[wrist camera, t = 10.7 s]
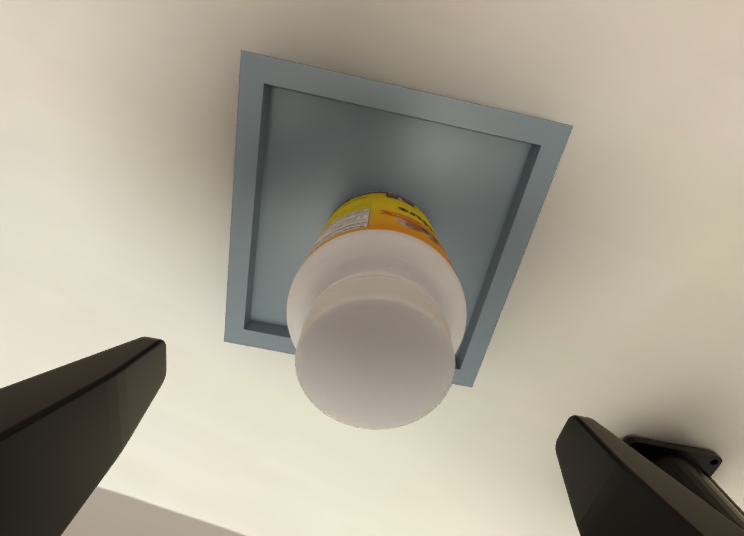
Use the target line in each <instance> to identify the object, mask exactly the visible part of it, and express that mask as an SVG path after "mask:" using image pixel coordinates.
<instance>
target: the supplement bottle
mask: <svg viewBox="0 0 744 536" xmlns="http://www.w3.org/2000/svg"><path fill="white" fill-rule="evenodd" d="M466 319H467V310H466V301H465V297H464V293H463V290H462V287H461V283H460V281H459V279H458V276H457V274H456V272H455V270H454V268H453V266H452V264H451V262H450V261H449V259H448V256H447V254H446V252H445V250H444V249H443V247H442V245H441V243H440V241H439V239H438V237H437V235H436V234H435V232H434V230H433V228H432V226H431V224H430V222H429V220H428V219H427V217H426V216H425V214H424V213H423V212H422V211H421V209H420V208H419V207H418V206H417V205H415V204H414V203H413V202H411V201H410V200H408V199H406V198H405V197H403V196H400V195H398V194H395V193H391V192H385V191H373V192H366V193H362V194H359V195H356V196H354V197H352V198H350V199H349V200H347V201H346V202H344V203H343V204H341V205H340V206H339V207H338V208H337V209H336V210H335V212H334V213H333V214H332V215H331V217H330V218H329V220H328V222H327V223H326V225H325V227H324V228H323V230H322V232H321V233H320V235H319V237H318V238H317V240H316V242H315V243H314V245H313V247H312V248H311V250H310V252H309V253H308V255H307V257H306V258H305V260H304V262H303V264H302V265H301V267H300V268H299V270H298V272H297V274H296V276H295V278H294V280H293V283H292V285H291V288H290V291H289V295H288V299H287V325H288V330H289V333H290V337H291V339H292V342H293V344H294V346H295V348H296V354H295V366H296V373H297V377H298V380H299V383H300V385H301V387H302V389H303V391H304V392H305V394H306V395H307V397H308V398H309V399H310V401H311V402H312V403H313V404H314V405H315V406H316V407H317V408H318V409H319V410H321V411H322V412H323V413H324V414H326V415H328V416H329V417H331V418H333V419H335V420H337V421H339V422H341V423H344V424H347V425H350V426H354V427H357V428H364V429H390V428H395V427H399V426H403V425H406V424H409V423H412V422H414V421H417V420H418V419H420V418H422V417H424V416H425V415H427V414H428V413H429V412H431V411H432V410H433V409H434V408H435V407H436V406H437V405H438V404H439V403H440V402H441V401H442V400H443V399H444V397H445V395H446V394H447V392H448V390H449V388H450V386H451V384H452V381H453V377H454V372H455V353H456V352H457V350H458V348H459V346H460V344H461V341H462V339H463V335H464V332H465V327H466Z"/></svg>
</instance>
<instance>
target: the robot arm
mask: <svg viewBox="0 0 744 536" xmlns="http://www.w3.org/2000/svg"><path fill="white" fill-rule="evenodd" d="M165 376H166V344H165V342H164V341H163V340H161V339H156V338H151V337H141V338H138V339H135V340H132V341H130V342H127V343H124V344H121V345H119V346H116V347H113V348H111V349H108V350H105V351H102V352H100V353H97V354H94V355H91V356H89V357H86V358H83V359H80V360H78V361H75V362H72V363H69V364H67V365H64V366H61V367H58V368H56V369H53V370H50V371H47V372H45V373H42V374H39V375H36V376H34V377H31V378H28V379H26V380H23V381H20V382H17V383H15V384H12V385H9V386H6V387H4V388H1V389H0V536H61V535H62V533H63V532H64V530H65V529H66V528H67V526H68V525H69V524H70V522H71V521H72V519H73V518H74V516H75V515H76V514H77V513H78V511H79V510H80V509H81V507H82V506H83V504H84V503H85V502H86V500H87V499H88V498H89V496H90V495H91V494H92V492H93V491H94V489H95V488H96V487H97V485H98V484H99V483H100V481H101V480H102V478H103V477H104V476H105V474H106V473H107V472H108V470H109V469H110V468H111V466H112V465H113V463H114V462H115V461H116V459H117V458H118V456H119V455H120V453H121V452H122V451H123V449H124V447H125V446H126V444H127V443H128V441H129V439H130V438H131V436H132V434H133V433H134V431H135V429H136V428H137V426H138V424H139V422H140V421H141V419H142V417H143V416H144V414H145V412H146V411H147V409H148V407H149V406H150V404H151V402H152V400H153V399H154V397H155V395H156V394H157V392H158V390H159V389H160V387H161V385H162V383H163V381H164V379H165ZM556 454H557V458H558V461H559V465H560V469H561V472H562V476H563V479H564V483H565V486H566V490H567V493H568V497H569V500H570V504H571V507H572V511H573V514H574V517H575V521H576V524H577V527H578V530H579V533H580V535H581V536H744V512H743V511H742V510H741V509H740V508H739V507H738V506H737V505H736V503H735V502H734V501H733V500H732V499H731V498H730V497H729V496H728V495H727V494H726V493H725V492H724V491H723V490H722V489H721V488H720V486H719V485H718V484H717V483H716V482H715V481H714V480H713V479H712V478H711V476H712V474H713V473H714V472H715V471H716V469H717V468H718V467H719V465H720V464H721V463H722V459H721V457H720V456H718V455H717V454H716V453H715V452H713V451H707V450H702V449H696V448H691V447H685V446H680V445H674V444H669V443H663V442H658V441H652V440H647V439H641V438H636V437H630V438H627V439H626V440H625V441H624V442H623V441H622V440H621V439H619V438H618V437H617V436H615V435H614V434H612V433H611V432H610V431H608V430H607V429H606V428H604V427H603V426H602V425H600V424H599V423H598V422H596V421H595V420H593V419H591V418H588V417H583V416H578V415H573V416H571V417H569V419H568V420H567V422H566V424H565V426H564V428H563V429H562V431H561V433H560V435H559V437H558V439H557V441H556Z"/></svg>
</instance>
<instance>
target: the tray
mask: <svg viewBox="0 0 744 536" xmlns="http://www.w3.org/2000/svg"><path fill="white" fill-rule="evenodd" d="M572 127H573V126H572V125H567V124H563V123H559V122H554V121H550V120H545V119H541V118H537V117H532V116H528V115H523V114H519V113H515V112H510V111H506V110H501V109H497V108H493V107H488V106H484V105H479V104H475V103H471V102H466V101H462V100H458V99H453V98H449V97H444V96H440V95H436V94H431V93H427V92H422V91H418V90H414V89H409V88H405V87H400V86H396V85H392V84H387V83H383V82H378V81H374V80H370V79H365V78H361V77H357V76H352V75H348V74H343V73H339V72H335V71H330V70H326V69H321V68H317V67H313V66H308V65H304V64H299V63H295V62H291V61H286V60H282V59H277V58H273V57H269V56H264V55H260V54H256V53H251V52H247V51H242V50H241V62H240V79H239V96H238V113H237V130H236V147H235V164H234V181H233V198H232V215H231V232H230V249H229V266H228V283H227V300H226V317H225V334H224V341H225V342H230V343H235V344H241V345H246V346H252V347H257V348H262V349H268V350H273V351H279V352H284V353H289V354H296V348H295V346H294V344H293V342H292V339H291V337H290V333H289V330H288V325H287V299H288V295H289V291H290V288H291V285H292V283H293V280H294V278H295V276H296V274H297V272H298V270H299V268H300V267H301V265H302V264H303V262H304V260H305V258H306V257H307V255H308V253H309V252H310V250H311V248H312V247H313V245H314V243H315V242H316V240H317V238H318V237H319V235H320V233H321V232H322V230H323V228H324V227H325V225H326V223H327V222H328V220H329V218H330V217H331V215H332V214H333V213H334V212H335V210H336V209H337V208H338V207H339V206H340V205H341V204H343V203H344V202H346V201H347V200H349V199H350V198H352V197H354V196H356V195H359V194H362V193H366V192H373V191H385V192H391V193H395V194H398V195H400V196H403V197H405V198H406V199H408V200H410V201H411V202H413V203H414V204H415V205H417V206H418V207H419V208H420V209H421V211H422V212H423V213H424V214H425V216H426V217H427V219H428V220H429V222H430V224H431V226H432V228H433V230H434V232H435V234H436V235H437V237H438V239H439V241H440V243H441V245H442V247H443V249H444V250H445V252H446V254H447V256H448V259H449V261H450V262H451V264H452V266H453V268H454V270H455V272H456V274H457V276H458V279H459V281H460V283H461V287H462V290H463V293H464V297H465V301H466V310H467V319H466V327H465V332H464V335H463V339H462V341H461V344H460V346H459V348H458V350H457V352H456V353H455V372H454V377H453V381H452V384H457V385H462V386H468V387H472V386H473V384H474V381H475V379H476V376H477V373H478V371H479V368H480V366H481V363H482V360H483V358H484V355H485V353H486V350H487V347H488V345H489V342H490V340H491V337H492V334H493V332H494V329H495V327H496V324H497V322H498V319H499V316H500V314H501V311H502V309H503V306H504V303H505V301H506V298H507V296H508V293H509V290H510V288H511V285H512V283H513V280H514V278H515V275H516V272H517V270H518V267H519V265H520V262H521V259H522V257H523V254H524V252H525V249H526V246H527V244H528V241H529V239H530V236H531V234H532V231H533V228H534V226H535V223H536V221H537V218H538V215H539V213H540V210H541V208H542V205H543V202H544V200H545V197H546V195H547V192H548V190H549V187H550V184H551V182H552V179H553V177H554V174H555V171H556V169H557V166H558V164H559V161H560V158H561V156H562V153H563V151H564V148H565V146H566V143H567V140H568V138H569V135H570V133H571V130H572Z"/></svg>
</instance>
